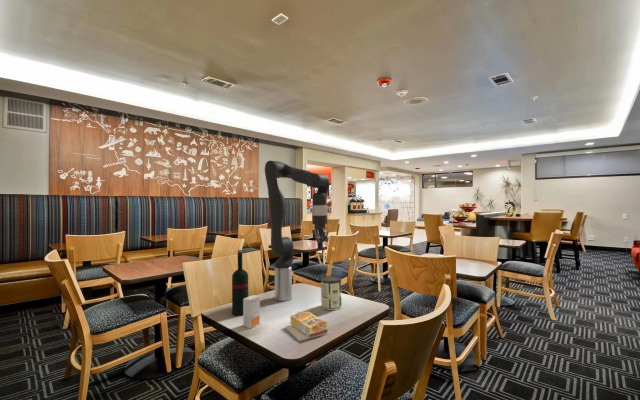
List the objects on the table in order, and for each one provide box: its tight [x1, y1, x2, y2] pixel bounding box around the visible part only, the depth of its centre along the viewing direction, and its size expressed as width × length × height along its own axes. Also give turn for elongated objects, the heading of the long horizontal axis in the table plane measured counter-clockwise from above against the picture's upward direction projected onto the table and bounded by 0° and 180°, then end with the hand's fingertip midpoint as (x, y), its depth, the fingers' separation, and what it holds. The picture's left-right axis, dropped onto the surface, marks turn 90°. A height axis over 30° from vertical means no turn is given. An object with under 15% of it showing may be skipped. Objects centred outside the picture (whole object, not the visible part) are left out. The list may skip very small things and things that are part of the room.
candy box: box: [290, 311, 329, 339], centre depth 125 cm, size 9×4×15 cm
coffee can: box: [320, 275, 343, 311], centre depth 152 cm, size 10×10×14 cm
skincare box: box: [242, 295, 261, 329], centre depth 130 cm, size 6×4×12 cm
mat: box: [284, 324, 330, 342], centre depth 124 cm, size 14×13×1 cm
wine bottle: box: [231, 249, 249, 317], centre depth 146 cm, size 8×10×30 cm
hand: (320, 249), depth 149 cm, fingers closed
